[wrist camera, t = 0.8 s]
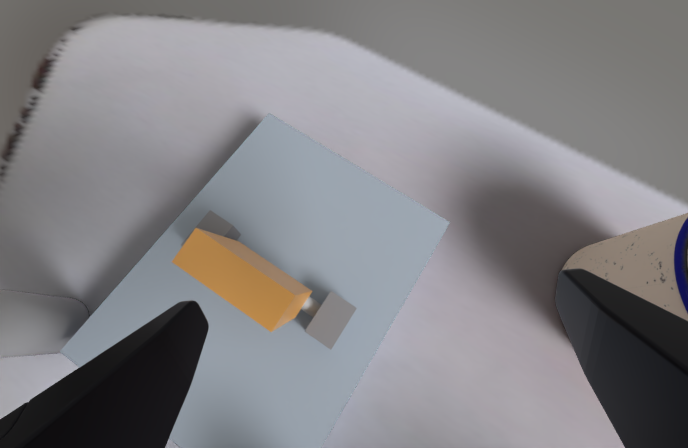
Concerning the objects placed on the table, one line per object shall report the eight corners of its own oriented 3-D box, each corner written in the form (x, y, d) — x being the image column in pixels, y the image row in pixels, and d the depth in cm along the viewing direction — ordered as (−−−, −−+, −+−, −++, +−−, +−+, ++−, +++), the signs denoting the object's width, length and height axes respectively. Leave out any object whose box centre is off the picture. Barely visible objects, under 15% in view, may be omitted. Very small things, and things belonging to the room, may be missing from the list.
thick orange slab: (295, 317, 17) (271, 332, 12) (221, 266, 18) (171, 261, 13) (312, 291, 17) (295, 295, 12) (238, 241, 18) (195, 227, 13)
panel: (283, 498, 18) (271, 548, 14) (91, 348, 20) (30, 353, 16) (437, 233, 23) (461, 212, 19) (274, 133, 25) (264, 94, 21)
